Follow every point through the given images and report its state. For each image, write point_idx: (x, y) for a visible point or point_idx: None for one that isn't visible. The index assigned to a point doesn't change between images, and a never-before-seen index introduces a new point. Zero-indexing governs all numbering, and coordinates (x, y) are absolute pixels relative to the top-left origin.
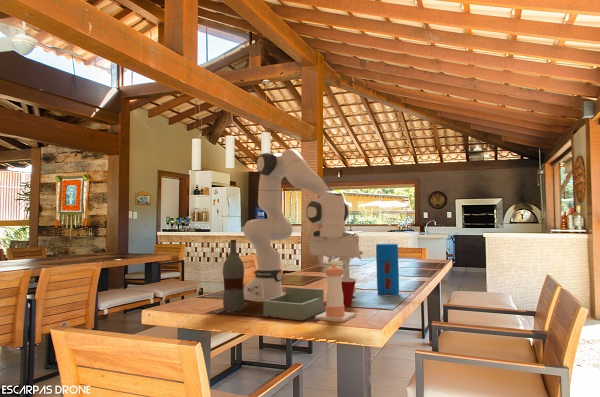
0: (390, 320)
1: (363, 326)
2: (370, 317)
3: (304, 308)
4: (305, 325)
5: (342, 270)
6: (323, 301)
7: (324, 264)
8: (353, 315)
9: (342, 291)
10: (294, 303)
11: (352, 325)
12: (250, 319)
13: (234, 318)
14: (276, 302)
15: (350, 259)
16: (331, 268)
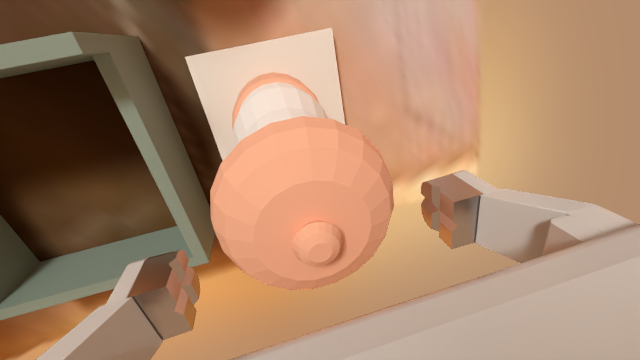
0: (480, 24)
1: (425, 160)
2: (396, 21)
3: (206, 237)
4: None
5: (392, 184)
6: (117, 40)
7: (191, 302)
8: (335, 60)
9: (325, 117)
10: None
11: (391, 171)
12: (63, 321)
13: (5, 347)
14: (68, 299)
15: (590, 205)
16: (323, 281)
